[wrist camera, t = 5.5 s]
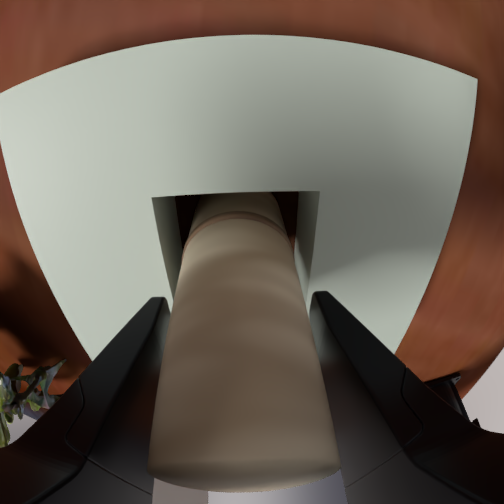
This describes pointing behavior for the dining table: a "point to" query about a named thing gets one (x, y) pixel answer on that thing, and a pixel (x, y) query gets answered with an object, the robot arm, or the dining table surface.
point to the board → (238, 167)
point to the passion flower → (24, 394)
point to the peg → (240, 360)
